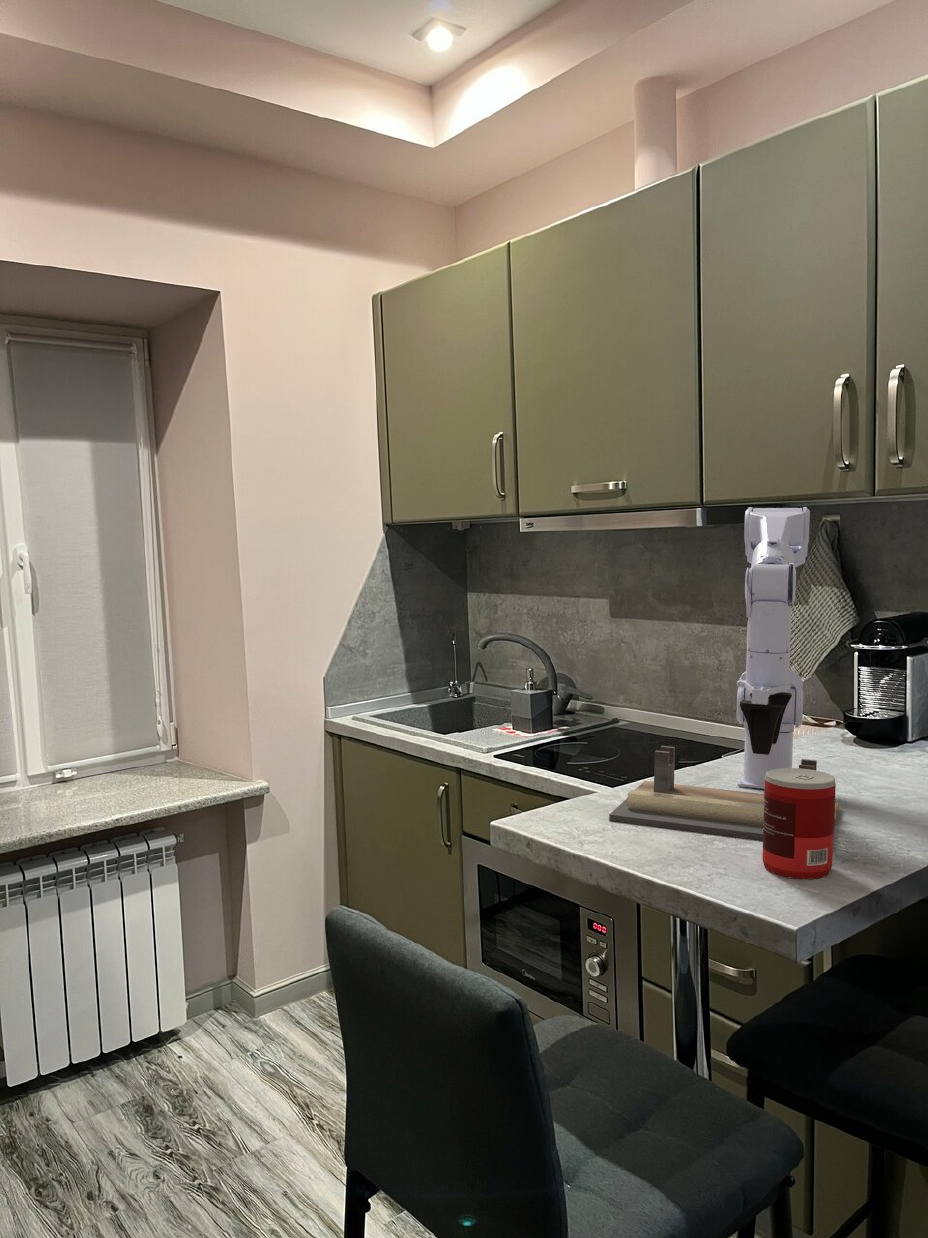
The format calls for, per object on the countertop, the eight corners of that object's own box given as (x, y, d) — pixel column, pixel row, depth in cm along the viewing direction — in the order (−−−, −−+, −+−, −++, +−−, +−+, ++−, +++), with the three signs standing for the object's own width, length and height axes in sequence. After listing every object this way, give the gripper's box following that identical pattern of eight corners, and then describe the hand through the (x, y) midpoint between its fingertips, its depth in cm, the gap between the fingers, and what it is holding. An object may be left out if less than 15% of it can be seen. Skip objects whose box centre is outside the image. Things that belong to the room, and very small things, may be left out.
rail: (631, 805, 135) (631, 789, 134) (820, 827, 124) (821, 811, 124) (627, 808, 133) (627, 793, 132) (819, 832, 122) (819, 815, 122)
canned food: (837, 865, 112) (841, 772, 112) (825, 885, 106) (829, 787, 105) (770, 853, 116) (773, 764, 115) (754, 872, 109) (757, 778, 109)
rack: (644, 787, 148) (645, 741, 147) (838, 809, 136) (840, 759, 136) (629, 801, 140) (630, 752, 139) (834, 825, 128) (836, 772, 128)
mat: (627, 802, 139) (628, 797, 139) (834, 827, 127) (834, 821, 127) (609, 820, 130) (609, 814, 130) (829, 848, 118) (829, 842, 118)
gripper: (746, 644, 140) (743, 736, 141) (729, 654, 127) (726, 755, 128) (797, 647, 137) (793, 740, 138) (785, 658, 124) (781, 761, 125)
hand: (764, 748), depth 133 cm, fingers open, 7 cm apart
